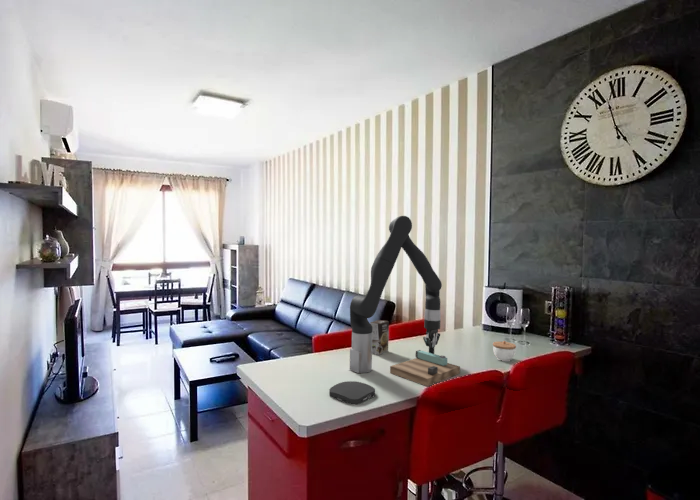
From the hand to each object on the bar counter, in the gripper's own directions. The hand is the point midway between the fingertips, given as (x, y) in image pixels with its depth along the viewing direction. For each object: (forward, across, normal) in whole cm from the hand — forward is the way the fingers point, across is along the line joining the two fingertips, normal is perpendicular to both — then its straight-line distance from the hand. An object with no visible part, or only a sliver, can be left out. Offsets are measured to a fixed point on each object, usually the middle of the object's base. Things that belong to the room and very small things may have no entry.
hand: (431, 354), depth 185 cm
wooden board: (+4, +14, +5) cm, 15 cm away
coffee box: (+5, +2, -29) cm, 30 cm away
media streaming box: (+5, +54, -4) cm, 54 cm away
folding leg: (+1, +6, +3) cm, 6 cm away
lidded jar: (+4, -31, +24) cm, 39 cm away
